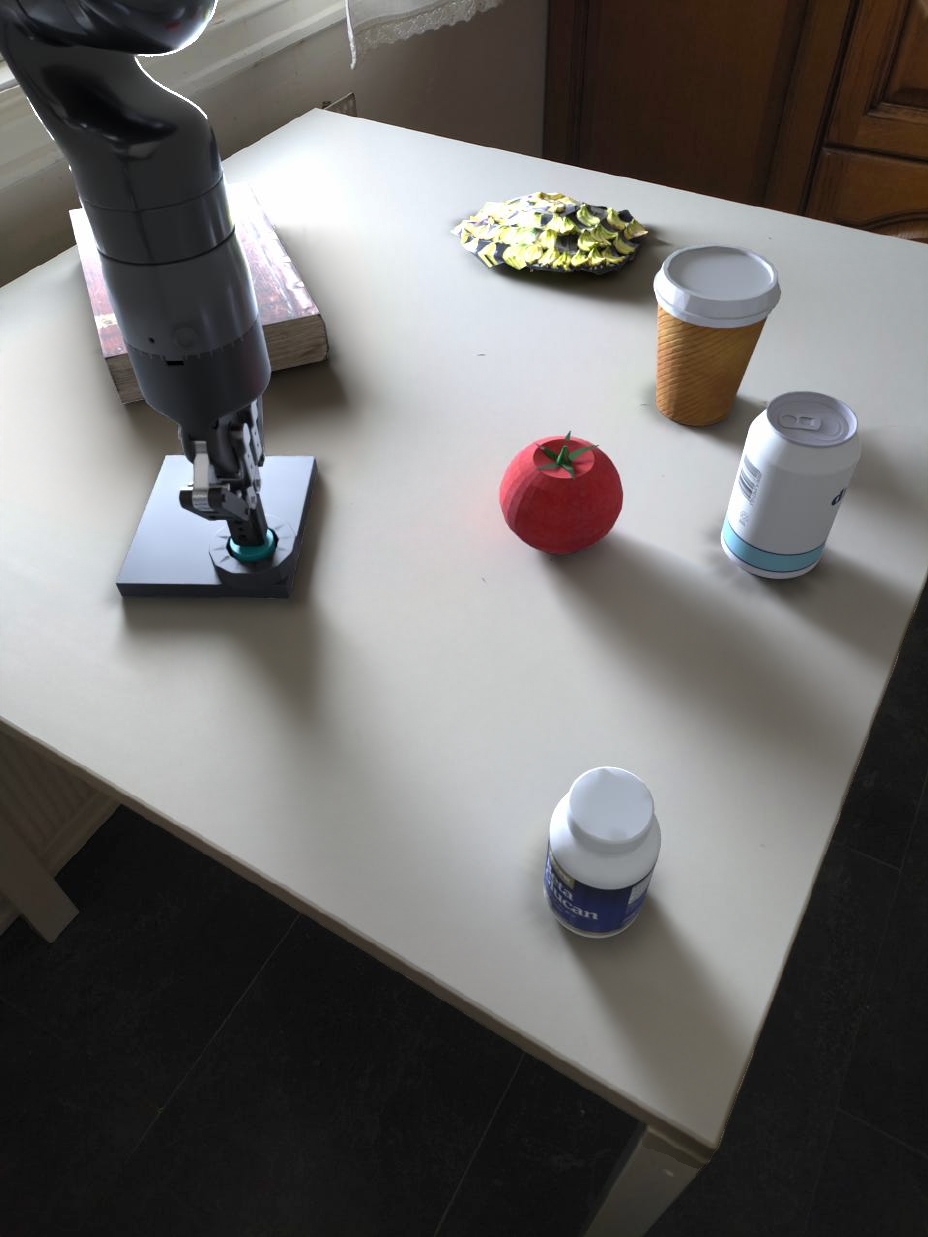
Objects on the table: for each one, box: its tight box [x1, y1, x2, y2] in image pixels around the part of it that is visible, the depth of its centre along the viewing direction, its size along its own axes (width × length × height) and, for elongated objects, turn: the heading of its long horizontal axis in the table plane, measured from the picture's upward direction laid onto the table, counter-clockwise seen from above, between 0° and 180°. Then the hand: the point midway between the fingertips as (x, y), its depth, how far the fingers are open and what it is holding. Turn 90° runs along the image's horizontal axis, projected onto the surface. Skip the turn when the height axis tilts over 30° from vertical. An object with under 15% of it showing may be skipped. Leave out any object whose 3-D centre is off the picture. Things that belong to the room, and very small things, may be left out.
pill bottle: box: [543, 766, 662, 939], centre depth 45 cm, size 5×5×10 cm
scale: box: [115, 454, 319, 600], centre depth 67 cm, size 14×12×3 cm
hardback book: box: [68, 180, 330, 405], centre depth 87 cm, size 29×19×5 cm, turn 22°
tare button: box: [230, 530, 276, 562], centre depth 63 cm, size 3×3×2 cm
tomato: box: [498, 430, 624, 555], centre depth 64 cm, size 9×9×8 cm
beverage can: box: [720, 390, 862, 580], centre depth 61 cm, size 7×7×12 cm
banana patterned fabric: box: [450, 191, 649, 276], centre depth 94 cm, size 20×16×6 cm
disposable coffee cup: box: [653, 243, 782, 427], centre depth 72 cm, size 10×10×12 cm
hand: (251, 539), depth 62 cm, fingers closed
